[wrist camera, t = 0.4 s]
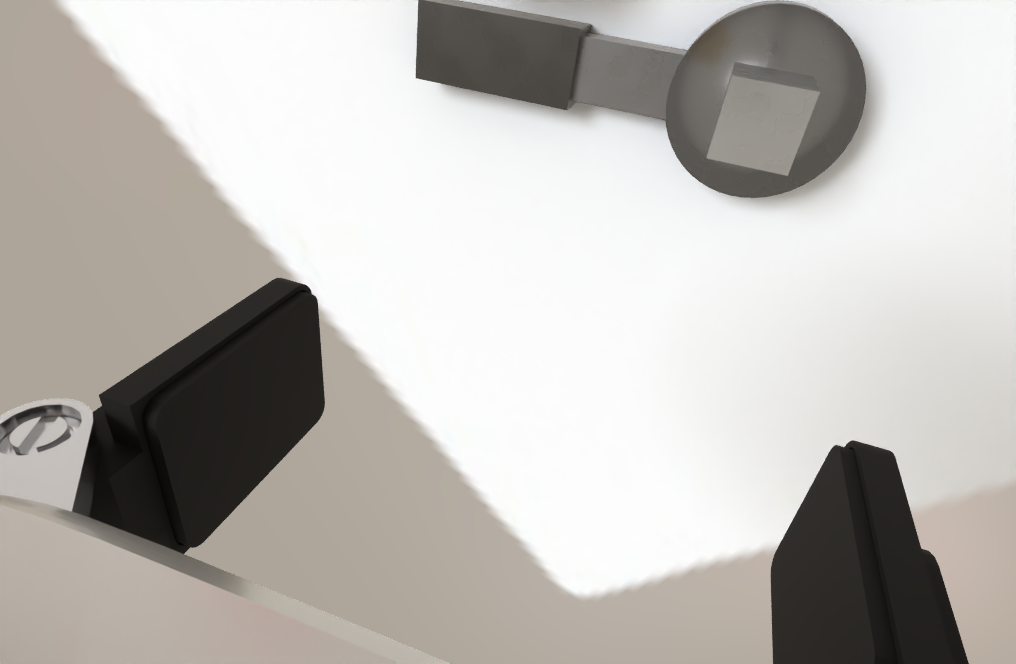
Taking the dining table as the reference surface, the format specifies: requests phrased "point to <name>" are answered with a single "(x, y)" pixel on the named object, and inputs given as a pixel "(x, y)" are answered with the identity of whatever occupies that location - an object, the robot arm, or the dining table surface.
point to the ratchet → (674, 83)
